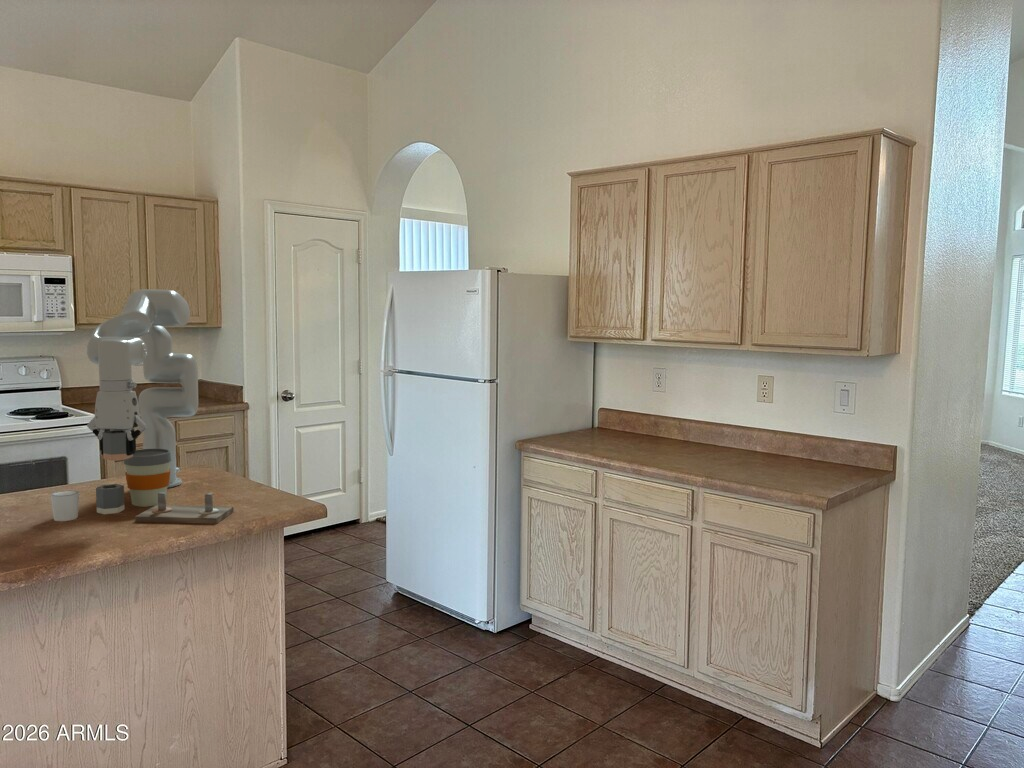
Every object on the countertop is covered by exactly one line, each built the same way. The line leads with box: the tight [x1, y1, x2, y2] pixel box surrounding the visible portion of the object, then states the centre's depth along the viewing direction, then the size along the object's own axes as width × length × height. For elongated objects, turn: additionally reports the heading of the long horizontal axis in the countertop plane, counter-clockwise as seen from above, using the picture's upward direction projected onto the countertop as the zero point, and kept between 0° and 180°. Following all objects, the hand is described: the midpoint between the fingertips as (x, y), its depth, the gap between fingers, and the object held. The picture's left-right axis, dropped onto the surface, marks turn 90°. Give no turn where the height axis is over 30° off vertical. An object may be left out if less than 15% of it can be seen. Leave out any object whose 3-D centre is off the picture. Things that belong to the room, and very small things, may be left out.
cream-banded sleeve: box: [95, 483, 125, 515], centre depth 215 cm, size 7×6×7 cm
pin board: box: [134, 492, 234, 525], centre depth 211 cm, size 12×22×6 cm, turn 89°
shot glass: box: [49, 490, 80, 522], centre depth 207 cm, size 7×7×7 cm
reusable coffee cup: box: [123, 448, 171, 507], centre depth 225 cm, size 13×12×15 cm
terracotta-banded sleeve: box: [102, 430, 133, 461], centre depth 202 cm, size 7×6×7 cm
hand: (118, 453), depth 202 cm, fingers closed on terracotta-banded sleeve, 6 cm apart
